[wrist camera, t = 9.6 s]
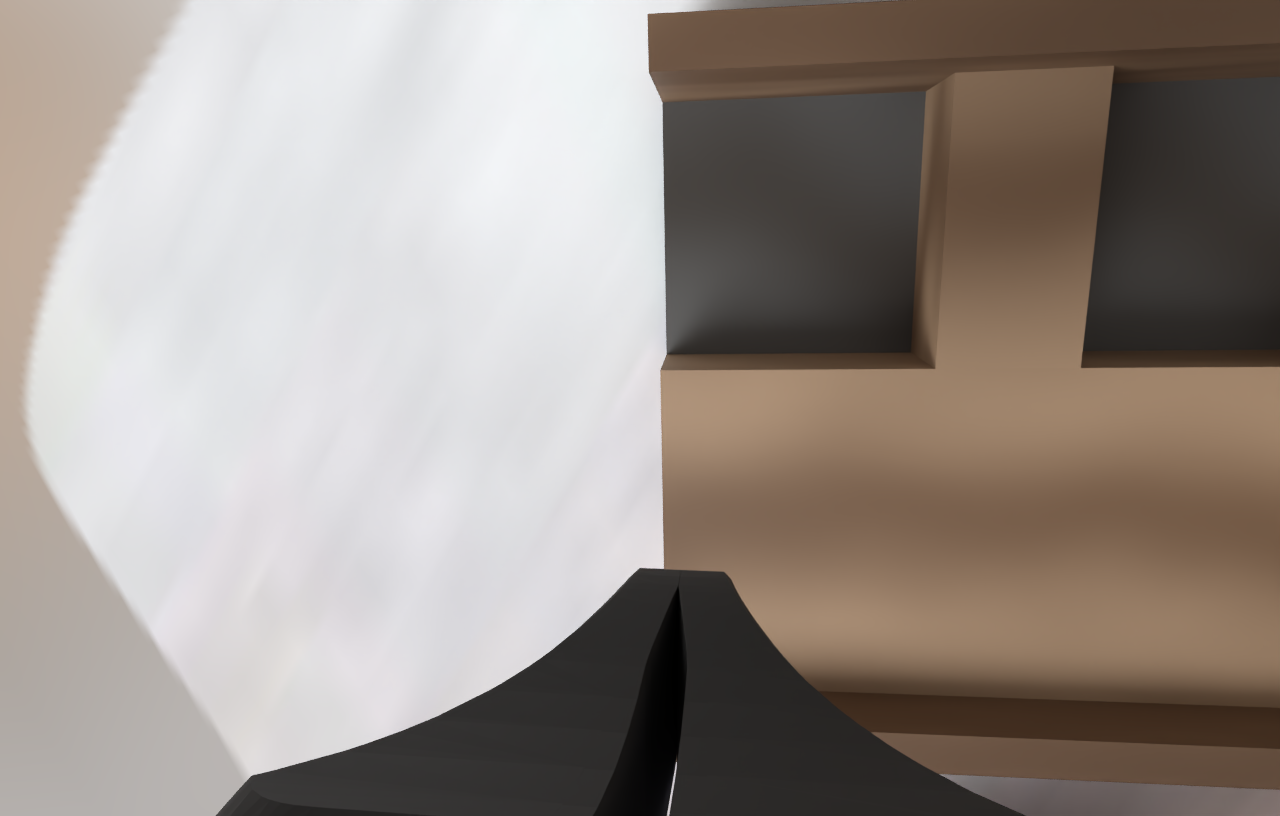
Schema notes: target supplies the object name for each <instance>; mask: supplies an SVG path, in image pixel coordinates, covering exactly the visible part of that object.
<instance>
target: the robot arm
mask: <svg viewBox="0 0 1280 816" xmlns="http://www.w3.org/2000/svg"><path fill="white" fill-rule="evenodd" d="M676 758H677V770H676V777H675V784H674V790H673V796H672V803H671V809H670V815H669V816H1025V815H1023V814H1021V813H1018V812H1016V811H1014V810H1011V809H1009V808H1007V807H1005V806H1002V805H1000V804H998V803H996V802H993V801H991V800H989V799H987V798H984V797H982V796H980V795H978V794H975V793H973V792H971V791H969V790H967V789H965V788H963V787H961V786H959V785H957V784H956V783H954V782H952V781H950V780H948V779H947V778H945V777H943V776H941V775H939V774H937V773H936V772H934V771H932V770H930V769H928V768H926V767H925V766H923V765H921V764H919V763H917V762H916V761H914V760H912V759H911V758H909V757H908V756H906V755H904V754H903V753H901V752H899V751H898V750H896V749H894V748H893V747H891V746H890V745H888V744H887V743H885V742H884V741H882V740H881V739H880V738H878V737H877V736H875V735H874V734H872V733H871V732H870V731H868V730H867V729H865V728H864V727H862V726H861V725H859V724H858V723H857V722H855V721H854V720H852V719H851V718H850V717H849V716H847V715H846V714H845V713H843V712H842V711H841V710H840V709H838V708H837V707H836V706H835V705H833V704H832V703H831V702H830V701H829V700H828V699H827V698H825V697H824V696H823V695H822V694H821V693H820V692H819V691H817V690H816V689H815V688H814V687H813V686H812V685H811V684H809V683H808V682H807V681H806V680H805V679H804V678H803V677H802V676H801V675H800V674H799V673H798V672H797V670H796V669H795V668H794V667H793V666H792V665H791V664H790V663H789V662H788V661H787V659H786V658H785V657H784V656H783V655H782V654H781V653H780V651H779V650H778V649H777V648H776V646H775V645H774V644H773V643H772V642H771V640H770V639H769V638H768V636H767V635H766V634H765V632H764V631H763V630H762V628H761V627H760V626H759V624H758V623H757V622H756V620H755V619H754V617H753V616H752V614H751V613H750V612H749V610H748V608H747V607H746V605H745V604H744V602H743V601H742V599H741V597H740V596H739V594H738V592H737V590H736V588H735V586H734V584H733V582H732V580H731V578H730V577H729V576H728V575H727V574H726V573H725V572H722V571H697V570H672V569H647V568H640V569H638V570H637V571H636V572H635V573H634V574H633V575H632V576H631V577H630V578H629V579H628V580H627V581H626V582H625V583H624V584H623V585H622V586H621V587H620V588H619V589H618V590H617V592H616V593H615V594H614V595H613V596H612V597H611V598H610V599H609V600H608V601H607V602H606V603H605V604H604V605H603V606H602V607H601V608H600V609H599V610H598V611H596V612H595V613H594V614H593V615H592V616H591V617H590V618H589V619H588V620H587V621H586V622H585V623H584V624H583V625H582V626H581V627H579V628H578V629H577V630H576V631H575V632H574V633H572V634H571V635H570V636H569V637H567V638H566V639H565V640H564V641H563V642H561V643H560V644H559V645H558V646H556V647H555V648H554V649H553V650H552V651H550V652H549V653H548V654H546V655H545V656H543V657H542V658H541V659H539V660H538V661H536V662H535V663H533V664H532V665H530V666H529V667H527V668H526V669H524V670H523V671H521V672H519V673H518V674H516V675H515V676H513V677H511V678H510V679H508V680H507V681H505V682H503V683H502V684H500V685H498V686H496V687H495V688H493V689H491V690H489V691H487V692H485V693H483V694H481V695H479V696H477V697H475V698H473V699H471V700H469V701H467V702H465V703H463V704H461V705H459V706H457V707H455V708H453V709H451V710H449V711H447V712H445V713H443V714H441V715H439V716H437V717H435V718H432V719H430V720H428V721H425V722H423V723H420V724H418V725H415V726H413V727H410V728H408V729H406V730H403V731H401V732H398V733H395V734H392V735H390V736H387V737H384V738H381V739H378V740H376V741H373V742H370V743H367V744H364V745H361V746H358V747H355V748H352V749H349V750H346V751H343V752H339V753H336V754H332V755H328V756H325V757H321V758H317V759H314V760H310V761H307V762H303V763H299V764H296V765H292V766H288V767H285V768H281V769H278V770H274V771H270V772H266V773H261V774H257V775H253V776H251V777H250V778H249V779H248V780H247V781H246V782H245V783H244V785H243V786H242V787H241V788H240V789H239V790H238V791H237V792H236V794H235V795H234V796H233V797H232V798H231V799H230V800H229V801H228V802H227V804H226V805H225V806H224V807H223V808H222V809H221V810H220V811H219V813H218V814H217V815H216V816H667V811H668V805H669V799H670V794H671V788H672V782H673V776H674V770H675V764H676Z"/></svg>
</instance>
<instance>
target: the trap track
mask: <svg viewBox="0 0 1280 816" xmlns="http://www.w3.org/2000/svg"><path fill="white" fill-rule="evenodd" d="M648 50H649V73H650V75H651V78H652V80H653V82H654V84H655V86H656V89H657V91H658V93H659V95H660V98H661V100H662V102H663V154H664V214H665V275H666V336H667V355H666V358H665V360H664V363H663V365H662V368H661V370H660V371H661V425H662V479H663V533H664V569H672V570H697V571H722V572H725V573H726V574H727V575H728V576H729V577H730V578H731V580H732V582H733V584H734V586H735V588H736V590H737V592H738V594H739V596H740V597H741V599H742V601H743V602H744V604H745V605H746V607H747V608H748V610H749V612H750V613H751V614H752V616H753V617H754V619H755V620H756V622H757V623H758V624H759V626H760V627H761V628H762V630H763V631H764V632H765V634H766V635H767V636H768V638H769V639H770V640H771V642H772V643H773V644H774V645H775V646H776V648H777V649H778V650H779V651H780V653H781V654H782V655H783V656H784V657H785V658H786V659H787V661H788V662H789V663H790V664H791V665H792V666H793V667H794V668H795V669H796V670H797V672H798V673H799V674H800V675H801V676H802V677H803V678H804V679H805V680H806V681H807V682H808V683H809V684H811V685H812V686H813V687H814V688H815V689H816V690H817V691H819V692H820V693H821V694H822V695H823V696H824V697H825V698H827V699H828V700H829V701H830V702H831V703H832V704H833V705H835V706H836V707H837V708H838V709H840V710H841V711H842V712H843V713H845V714H846V715H847V716H849V717H850V718H851V719H852V720H854V721H855V722H857V723H858V724H859V725H861V726H862V727H864V728H865V729H867V730H868V731H870V732H871V733H872V734H874V735H875V736H877V737H878V738H880V739H881V740H882V741H884V742H885V743H887V744H888V745H890V746H891V747H893V748H894V749H896V750H898V751H899V752H901V753H903V754H904V755H906V756H908V757H909V758H911V759H912V760H914V761H916V762H917V763H919V764H921V765H923V766H925V767H926V768H928V769H930V770H932V771H934V772H936V773H937V774H953V775H974V776H996V777H1017V778H1039V779H1061V780H1082V781H1104V782H1126V783H1147V784H1169V785H1190V786H1212V787H1234V788H1255V789H1277V790H1280V0H901V1H882V2H863V3H844V4H826V5H807V6H788V7H770V8H751V9H732V10H713V11H695V12H676V13H657V14H648ZM676 762H677V758H676Z"/></svg>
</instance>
